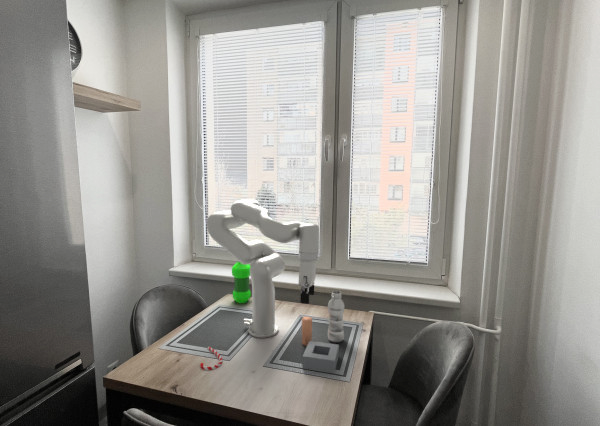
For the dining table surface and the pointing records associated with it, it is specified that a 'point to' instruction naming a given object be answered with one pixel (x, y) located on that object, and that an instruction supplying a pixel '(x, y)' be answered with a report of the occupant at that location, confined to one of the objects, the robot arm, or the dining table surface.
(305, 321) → the peg
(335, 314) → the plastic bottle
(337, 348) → the socket block
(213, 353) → the candy cane
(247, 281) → the plastic bottle
